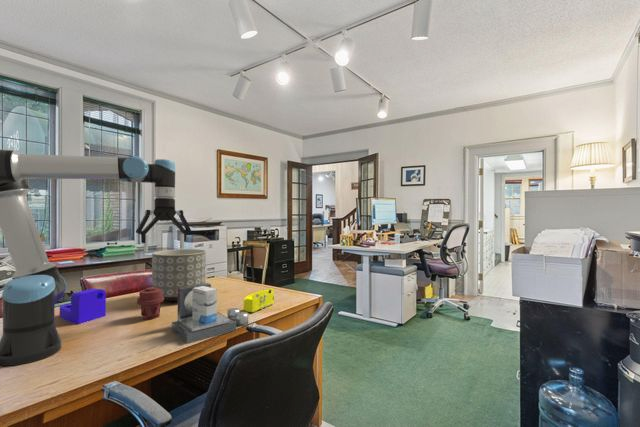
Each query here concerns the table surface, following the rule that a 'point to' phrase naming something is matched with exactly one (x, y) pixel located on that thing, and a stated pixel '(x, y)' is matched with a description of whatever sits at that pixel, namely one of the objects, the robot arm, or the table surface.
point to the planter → (177, 270)
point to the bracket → (85, 306)
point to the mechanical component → (150, 302)
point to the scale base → (187, 311)
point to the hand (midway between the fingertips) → (164, 250)
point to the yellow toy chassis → (258, 300)
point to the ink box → (204, 304)
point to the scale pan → (197, 325)
